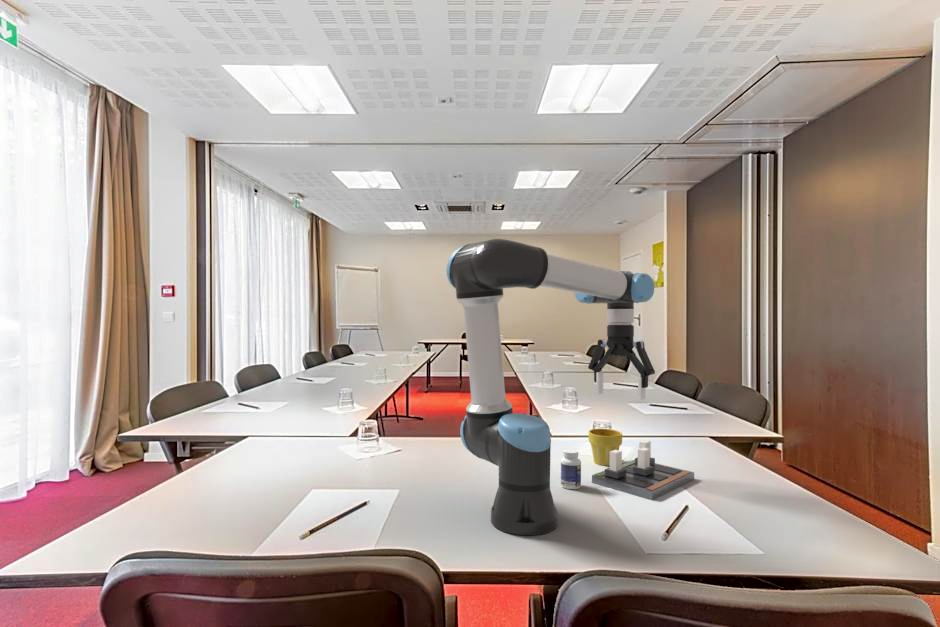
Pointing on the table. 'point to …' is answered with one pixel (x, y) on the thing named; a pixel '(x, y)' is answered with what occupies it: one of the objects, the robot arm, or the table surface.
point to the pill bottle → (570, 470)
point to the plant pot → (604, 444)
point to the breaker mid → (643, 462)
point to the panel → (646, 480)
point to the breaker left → (615, 465)
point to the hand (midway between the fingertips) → (620, 396)
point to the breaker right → (645, 445)
